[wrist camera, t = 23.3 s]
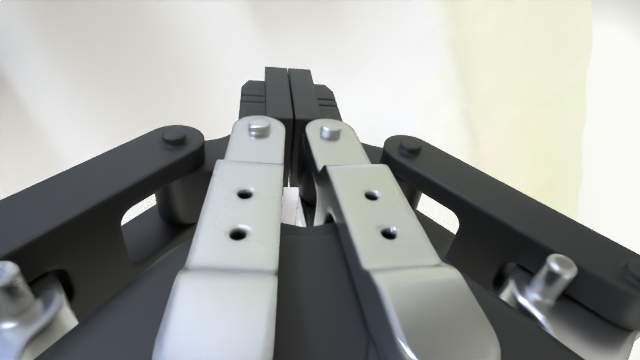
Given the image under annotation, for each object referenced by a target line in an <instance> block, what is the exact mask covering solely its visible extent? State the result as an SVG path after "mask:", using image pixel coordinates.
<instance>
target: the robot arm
mask: <svg viewBox="0 0 640 360" xmlns="http://www.w3.org/2000/svg"><path fill="white" fill-rule="evenodd" d="M288 177H289V183H290V187H299V195H298V210H299V215H300V220H301V224H302V227H300V226H295V225H289V224H284V223H281V206H282V196H283V188H284V187H288ZM154 193H155V197H156V202H157V204H156V205H154V206H153V207H151V208H149V209H148V210H146V211H145V212H143V213H141V214H140V215H138V216H137V217H135V218H133V219H132V220H130V221H129V222H127V223H126V224H124V225H122V226H121V220H122V218H123V216H124V214H125V213H126V212H127V211H128V210H129V209H130V208H131V207H132V206H134V205H136V204H137V203H139V202H141V201H142V200H144V199H146V198H147V197H149V196H151V195H152V194H154ZM422 193H424V194H425V195H427V196H429V197H430V198H432V199H434V200H435V201H437V202H438V203H440V204H442V205H443V206H445V207H447V208H448V209H450V210H451V211H453V212H454V213H455V215H456V216H457V218H458V220H459V229H458V231H457V233H456V235H455V234H453V233H452V232H450V231H449V230H447V229H446V228H444V227H443V226H441V225H439V224H438V223H436V222H435V221H433V220H432V219H430V218H429V217H427V216H426V215H424V214H422V213H421V212H419V211H418V210H416V208H417V206H418V203H419V200H420V197H421V195H422ZM639 337H640V255H639V254H637V253H635V252H633V251H631V250H629V249H627V248H626V247H623V246H622V245H620V244H618V243H616V242H614V241H612V240H610V239H609V238H607V237H605V236H603V235H601V234H599V233H597V232H595V231H593V230H591V229H590V228H588V227H586V226H584V225H582V224H580V223H578V222H576V221H574V220H573V219H571V218H569V217H567V216H565V215H563V214H561V213H559V212H557V211H556V210H554V209H552V208H550V207H548V206H546V205H544V204H542V203H540V202H539V201H537V200H535V199H533V198H531V197H529V196H527V195H525V194H523V193H521V192H520V191H518V190H516V189H514V188H512V187H510V186H508V185H506V184H504V183H503V182H501V181H499V180H497V179H495V178H493V177H491V176H489V175H487V174H486V173H484V172H482V171H480V170H478V169H476V168H474V167H472V166H470V165H468V164H467V163H465V162H463V161H461V160H459V159H457V158H455V157H453V156H451V155H450V154H448V153H446V152H444V151H442V150H440V149H438V148H436V147H434V146H433V145H431V144H429V143H427V142H425V141H423V140H421V139H418V138H416V137H412V136H407V135H395V136H391V137H389V138H388V139H386V141H385V143H384V147H383V148H380V147H376V146H371V145H367V144H364V143H361V142H360V141H359V139H358V137H357V135H356V133H355V131H354V129H353V128H352V127H351V126H349V125H348V124H346V123H344V122H342V119H341V116H340V113H339V109H338V107H337V103H336V101H335V97H334V94H333V92H332V91H331V90H330V89H329V88H328V87H326V86H325V85H317V84H313V80H312V76H311V72H310V70H306V69H291V68H288V73H287V68H276V67H265V81H252V80H249V81H248V82H247V83H245V84H244V85H243V86H242V90H241V100H240V110H239V120H238V121H236V122H235V123H234V125H233V128H232V132H231V134H230V135H228V136H226V137H223V138H220V139H215V140H208V141H204V136H203V134H202V133H201V132H200V131H199V130H197V129H195V128H192V127H189V126H182V125H172V126H165V127H161V128H158V129H155V130H153V131H151V132H149V133H147V134H144V135H142V136H140V137H138V138H136V139H133V140H131V141H129V142H127V143H125V144H122V145H120V146H118V147H116V148H114V149H112V150H109V151H107V152H105V153H103V154H101V155H98V156H96V157H94V158H92V159H90V160H87V161H85V162H83V163H81V164H79V165H77V166H74V167H72V168H70V169H68V170H66V171H63V172H61V173H59V174H57V175H55V176H52V177H50V178H48V179H46V180H44V181H42V182H39V183H37V184H35V185H33V186H31V187H28V188H26V189H24V190H22V191H20V192H18V193H15V194H13V195H11V196H9V197H7V198H4V199H2V200H0V360H628V359H629V356H630V353H631V349H632V347H633V344H634V341H635V340H637V339H638V338H639Z"/></svg>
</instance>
